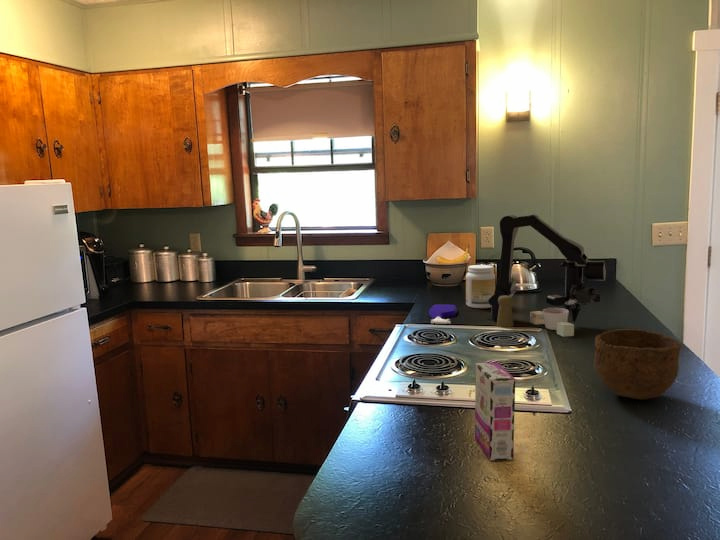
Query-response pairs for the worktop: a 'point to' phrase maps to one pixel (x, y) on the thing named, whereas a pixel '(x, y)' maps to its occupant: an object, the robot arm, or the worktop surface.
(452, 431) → the worktop surface
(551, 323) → the candle
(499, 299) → the cork
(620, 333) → the bowl
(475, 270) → the supplement tub
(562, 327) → the sage block
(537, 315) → the birch block
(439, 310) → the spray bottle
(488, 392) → the candy bar box
